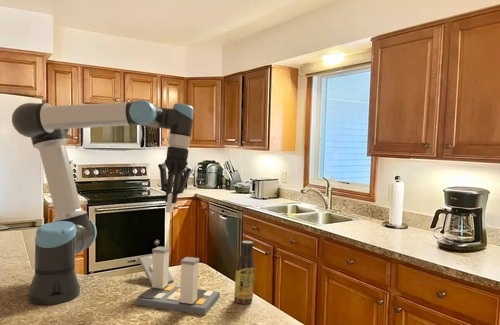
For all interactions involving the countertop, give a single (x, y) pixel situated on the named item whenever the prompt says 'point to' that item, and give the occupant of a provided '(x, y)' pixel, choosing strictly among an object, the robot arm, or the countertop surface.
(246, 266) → the sauce bottle
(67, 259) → the robot arm
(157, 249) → the slider
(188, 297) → the slider
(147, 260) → the gray dial box
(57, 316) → the countertop surface
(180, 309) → the console
